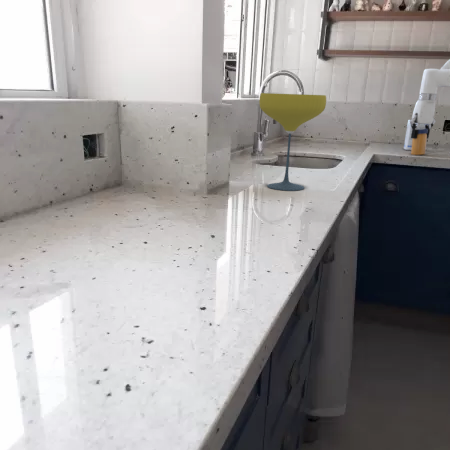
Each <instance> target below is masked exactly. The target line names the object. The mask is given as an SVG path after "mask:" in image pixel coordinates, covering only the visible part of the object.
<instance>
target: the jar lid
mask: <svg viewBox="0 0 450 450" xmlns="http://www.w3.org/2000/svg"><path fill="white" fill-rule="evenodd" d="M417 130H418V134H425V133H428V129H417Z"/></svg>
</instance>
